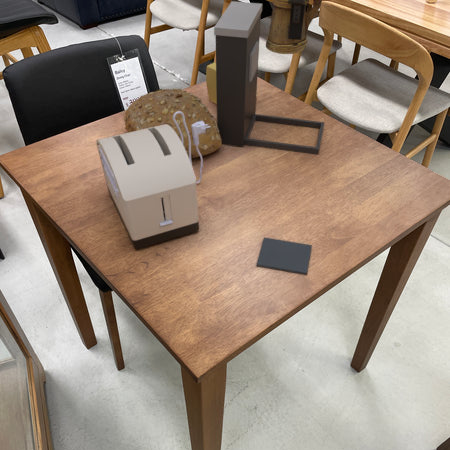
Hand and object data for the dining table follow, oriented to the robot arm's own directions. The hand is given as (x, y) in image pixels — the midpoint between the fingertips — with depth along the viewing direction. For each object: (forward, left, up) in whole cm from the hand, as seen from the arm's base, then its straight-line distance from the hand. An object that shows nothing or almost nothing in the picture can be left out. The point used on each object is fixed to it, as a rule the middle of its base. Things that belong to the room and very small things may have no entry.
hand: (297, 31), depth 96 cm
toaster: (+21, +33, -26) cm, 47 cm away
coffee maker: (+4, -2, -26) cm, 26 cm away
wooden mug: (0, 0, -3) cm, 3 cm away
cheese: (+19, -17, -26) cm, 36 cm away
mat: (-7, +43, -26) cm, 51 cm away
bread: (+29, +8, -26) cm, 39 cm away
